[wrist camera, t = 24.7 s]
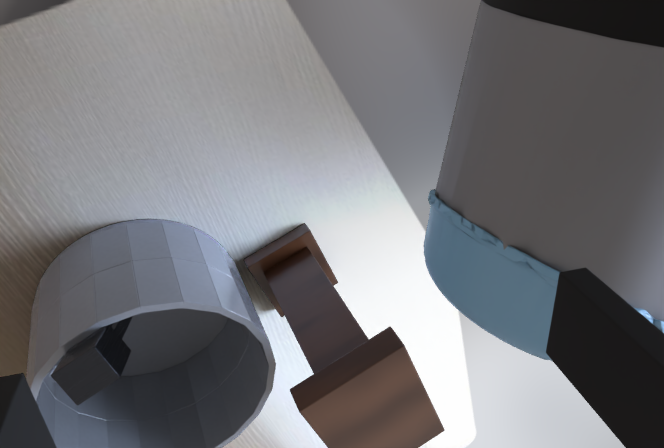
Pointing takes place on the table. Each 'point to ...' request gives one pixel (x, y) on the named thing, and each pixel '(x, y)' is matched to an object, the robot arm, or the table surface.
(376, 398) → the pedestal
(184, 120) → the table surface
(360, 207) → the table surface
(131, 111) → the table surface
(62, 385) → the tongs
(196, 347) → the pot
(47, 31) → the table surface
